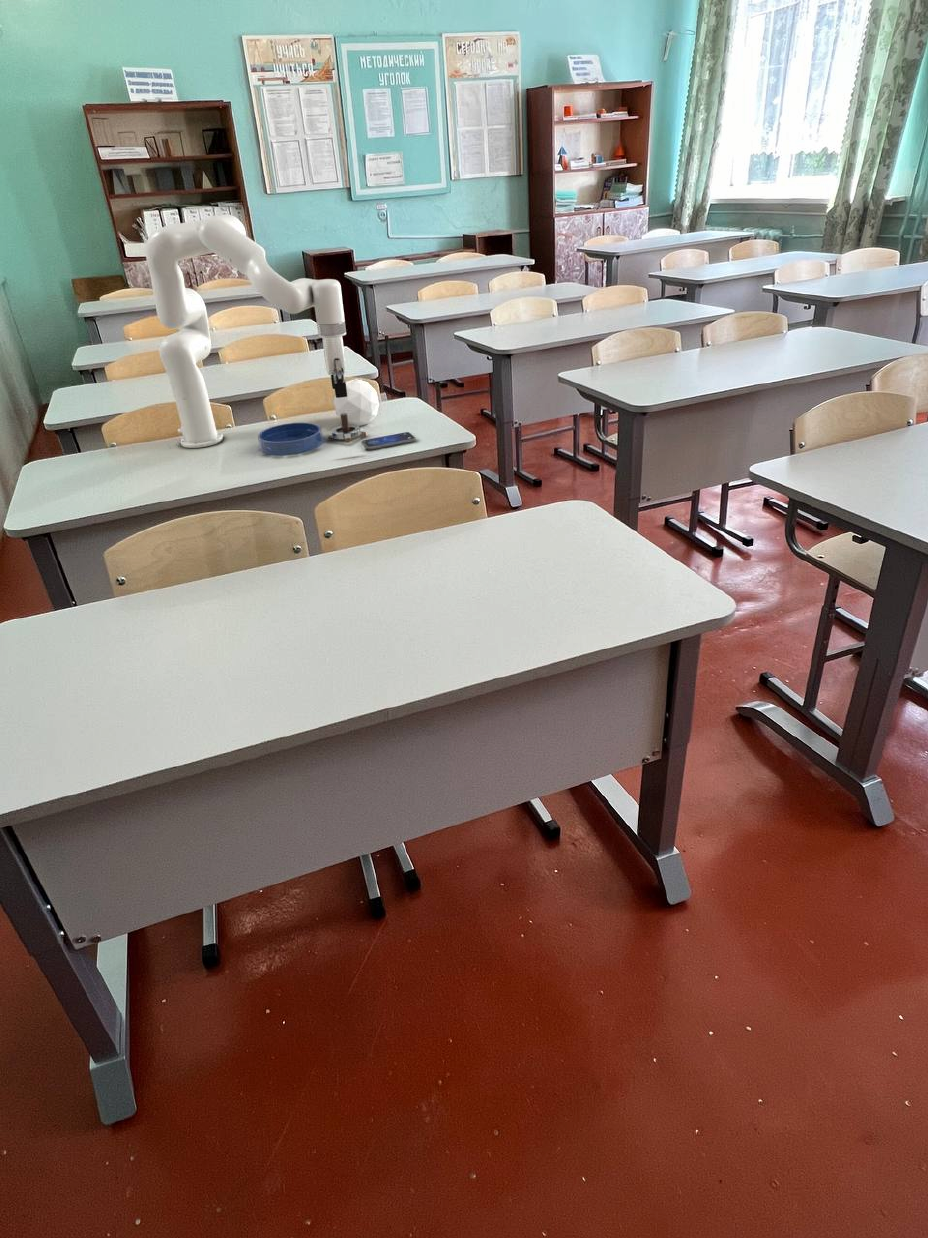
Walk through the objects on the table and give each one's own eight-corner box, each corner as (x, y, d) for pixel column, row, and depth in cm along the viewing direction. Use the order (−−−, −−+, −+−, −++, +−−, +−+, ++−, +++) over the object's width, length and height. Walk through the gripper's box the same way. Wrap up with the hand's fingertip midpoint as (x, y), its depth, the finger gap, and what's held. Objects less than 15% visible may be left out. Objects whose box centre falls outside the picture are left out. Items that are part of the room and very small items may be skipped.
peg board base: (328, 441, 224) (324, 416, 220) (345, 433, 230) (342, 409, 226) (349, 444, 220) (345, 419, 216) (366, 436, 226) (363, 411, 222)
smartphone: (417, 438, 218) (367, 447, 214) (417, 441, 219) (367, 451, 215) (408, 431, 224) (360, 440, 220) (409, 434, 225) (360, 443, 220)
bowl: (247, 453, 220) (244, 437, 218) (291, 434, 233) (288, 419, 230) (293, 461, 211) (290, 445, 209) (336, 441, 224) (333, 426, 222)
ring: (330, 432, 227) (329, 427, 226) (358, 428, 228) (357, 423, 227) (333, 440, 220) (333, 435, 219) (362, 436, 221) (361, 431, 220)
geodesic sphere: (346, 395, 244) (331, 366, 231) (388, 395, 242) (376, 365, 228) (338, 435, 239) (322, 407, 226) (381, 435, 236) (368, 406, 223)
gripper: (315, 324, 212) (324, 386, 221) (320, 336, 198) (329, 402, 207) (342, 322, 213) (349, 383, 223) (349, 334, 199) (356, 399, 208)
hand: (339, 392), depth 215 cm, fingers open, 9 cm apart
